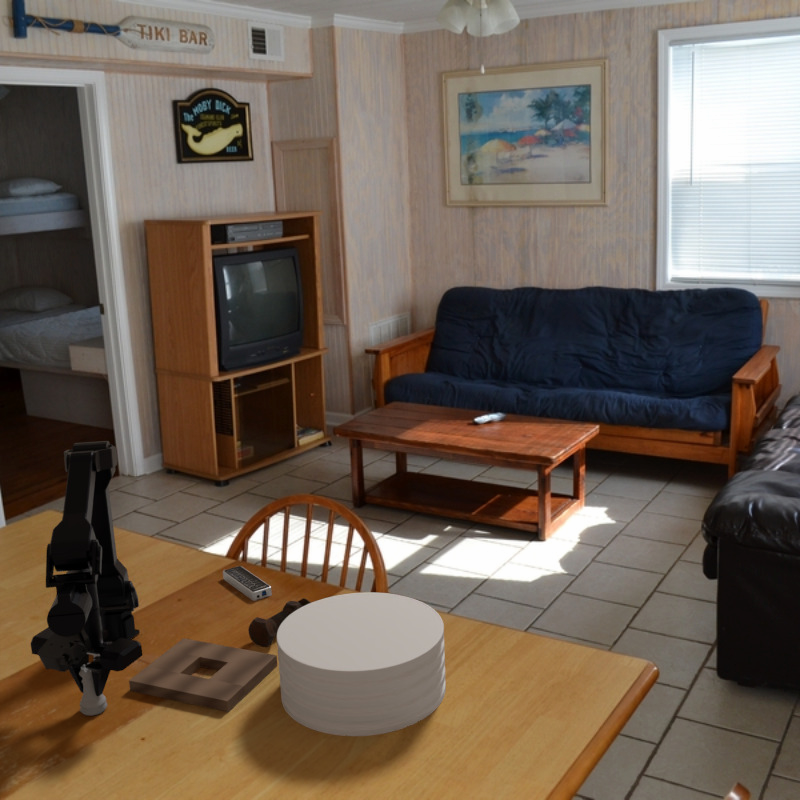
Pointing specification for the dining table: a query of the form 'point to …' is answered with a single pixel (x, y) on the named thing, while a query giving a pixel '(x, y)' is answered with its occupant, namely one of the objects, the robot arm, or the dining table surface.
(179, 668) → the socket board
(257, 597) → the multiport hub
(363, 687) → the plate stack
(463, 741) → the dining table surface
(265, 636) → the bolt
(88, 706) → the rook chess piece
